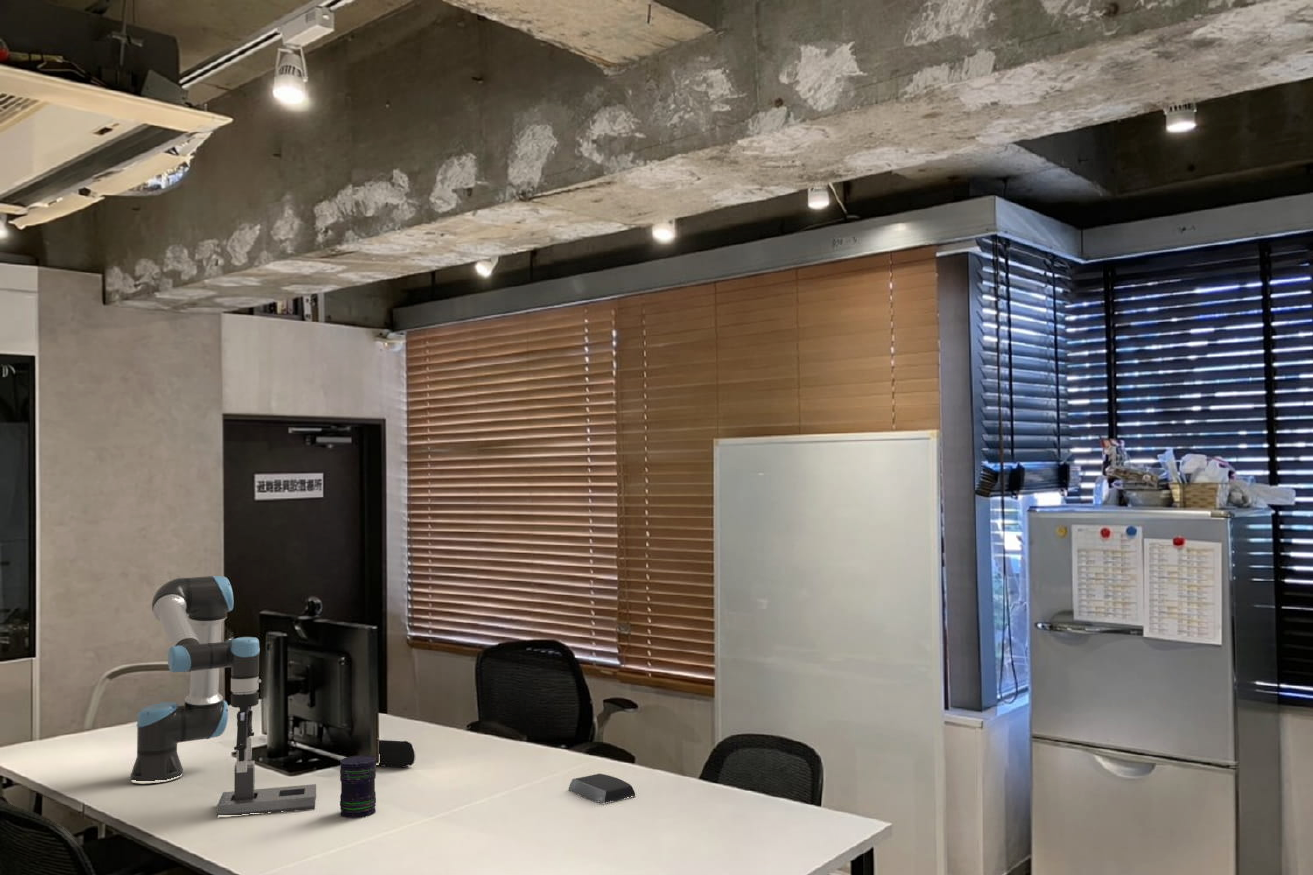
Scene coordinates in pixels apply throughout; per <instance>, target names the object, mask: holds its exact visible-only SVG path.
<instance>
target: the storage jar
mask: <svg viewBox="0 0 1313 875" xmlns="http://www.w3.org/2000/svg"><path fill="white" fill-rule="evenodd" d="M375 761H376V758H375V757H374V756H368V755H363V754H360V755H352V756H351V755H350V756H348V757H344V758H342V759H340V762H339V763H340V770H339V776H340V777H339V780H340V782H341V783H340V786H341V788H340V801H339V808H340V814H339V815H340V817H341V818H345V819H362V817H363V818H366V816H367V817H370V816H373V815H374V814H375V813H376V805H377V804H376V802H377V798H376V795H377V794H376V789H375V788H376V786H375V785H376V784H375V783H376V778H377V777H376V775H377V774H376V771H377V766H376V763H375Z"/></svg>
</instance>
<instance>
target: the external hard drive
mask: <svg viewBox="0 0 1313 875" xmlns="http://www.w3.org/2000/svg"><path fill="white" fill-rule="evenodd" d="M568 789H569V790H570V792H571V791H572V792H571V793H573V792H574V793H573V794H575V793H576V794H575V795H577V794H579V795H581V796H580V797H582V796H583V797H582V798H584V797H586V798H585V799H587V798H588V799H587V800H589V799H590V801H592V800H593V802H595V801H599V802H601V803H606V802H610V801H616V802H619V801H618V800H620V801H622V800H621V799H624V798H627V797H631V796H635V795H636V792H635V789H634V788H633V786H632V785H631V784H630V783H628V782H627V781H624V780H622V779H621V778H618V777H615V776H613V775H608V774H604V773H596V774H592V775H587V776H582V777H577V778H572V779H571V782H570V784H569V786H568ZM569 790H568V791H569ZM579 795H578V796H579ZM601 803H600V804H601Z"/></svg>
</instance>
